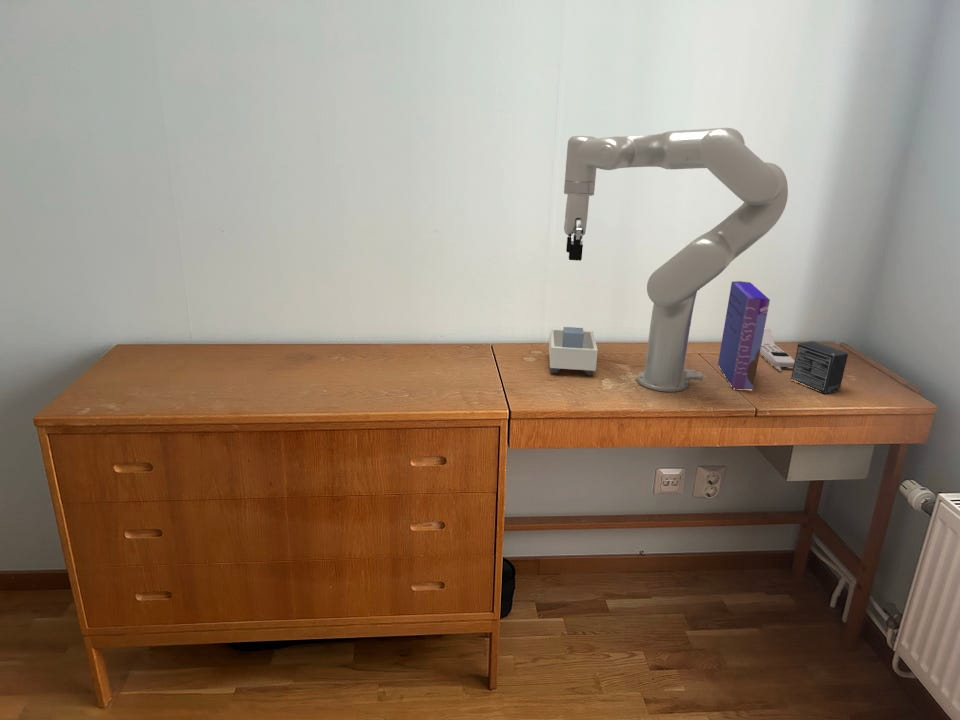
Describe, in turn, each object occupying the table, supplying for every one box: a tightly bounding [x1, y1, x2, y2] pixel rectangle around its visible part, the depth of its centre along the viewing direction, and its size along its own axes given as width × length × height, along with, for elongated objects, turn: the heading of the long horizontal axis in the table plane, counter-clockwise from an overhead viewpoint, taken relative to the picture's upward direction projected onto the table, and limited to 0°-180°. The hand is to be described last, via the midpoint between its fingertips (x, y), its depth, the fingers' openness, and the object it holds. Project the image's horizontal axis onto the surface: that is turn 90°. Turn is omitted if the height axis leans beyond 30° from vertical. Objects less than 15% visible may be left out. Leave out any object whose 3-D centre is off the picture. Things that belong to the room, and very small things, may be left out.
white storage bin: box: [548, 328, 599, 376], centre depth 184 cm, size 12×16×7 cm
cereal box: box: [717, 280, 771, 390], centre depth 179 cm, size 17×5×24 cm, turn 174°
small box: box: [790, 340, 849, 395], centre depth 178 cm, size 11×6×10 cm, turn 29°
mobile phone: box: [760, 327, 795, 371], centre depth 199 cm, size 6×6×25 cm
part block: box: [562, 326, 584, 348], centre depth 183 cm, size 5×5×7 cm
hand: (573, 256), depth 179 cm, fingers open, 9 cm apart
